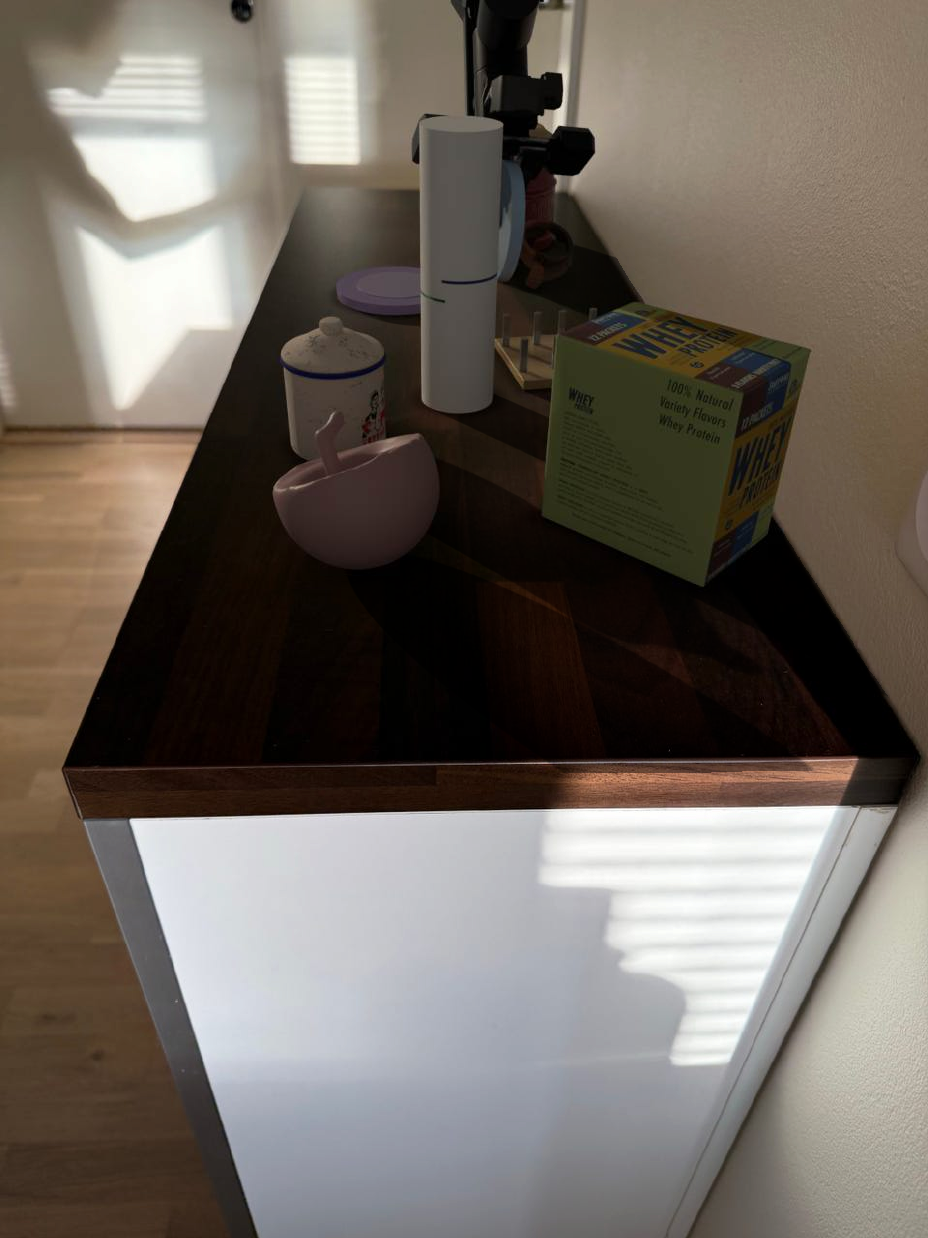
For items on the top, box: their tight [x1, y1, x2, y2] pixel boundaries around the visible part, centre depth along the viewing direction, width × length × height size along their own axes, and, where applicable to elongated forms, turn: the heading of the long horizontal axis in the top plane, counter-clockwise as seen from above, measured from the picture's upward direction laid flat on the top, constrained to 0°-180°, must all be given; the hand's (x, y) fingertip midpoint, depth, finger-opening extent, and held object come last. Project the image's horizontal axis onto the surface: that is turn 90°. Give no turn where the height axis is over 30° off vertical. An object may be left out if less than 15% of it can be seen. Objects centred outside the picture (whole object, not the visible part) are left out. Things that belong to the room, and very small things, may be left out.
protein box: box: [540, 301, 812, 588], centre depth 75 cm, size 10×15×16 cm
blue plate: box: [497, 160, 525, 283], centre depth 104 cm, size 12×1×12 cm, turn 11°
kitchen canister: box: [511, 122, 558, 251], centre depth 137 cm, size 13×13×18 cm
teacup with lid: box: [279, 316, 387, 462], centre depth 87 cm, size 12×9×12 cm
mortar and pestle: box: [272, 411, 441, 571], centre depth 72 cm, size 12×12×12 cm
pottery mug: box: [517, 219, 574, 290], centre depth 127 cm, size 12×10×8 cm
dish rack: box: [495, 307, 598, 391], centre depth 105 cm, size 12×11×4 cm
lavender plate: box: [335, 265, 421, 316], centre depth 123 cm, size 15×15×1 cm
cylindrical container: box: [419, 115, 503, 414], centre depth 91 cm, size 7×7×25 cm
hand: (505, 226), depth 103 cm, fingers closed on blue plate, 1 cm apart
